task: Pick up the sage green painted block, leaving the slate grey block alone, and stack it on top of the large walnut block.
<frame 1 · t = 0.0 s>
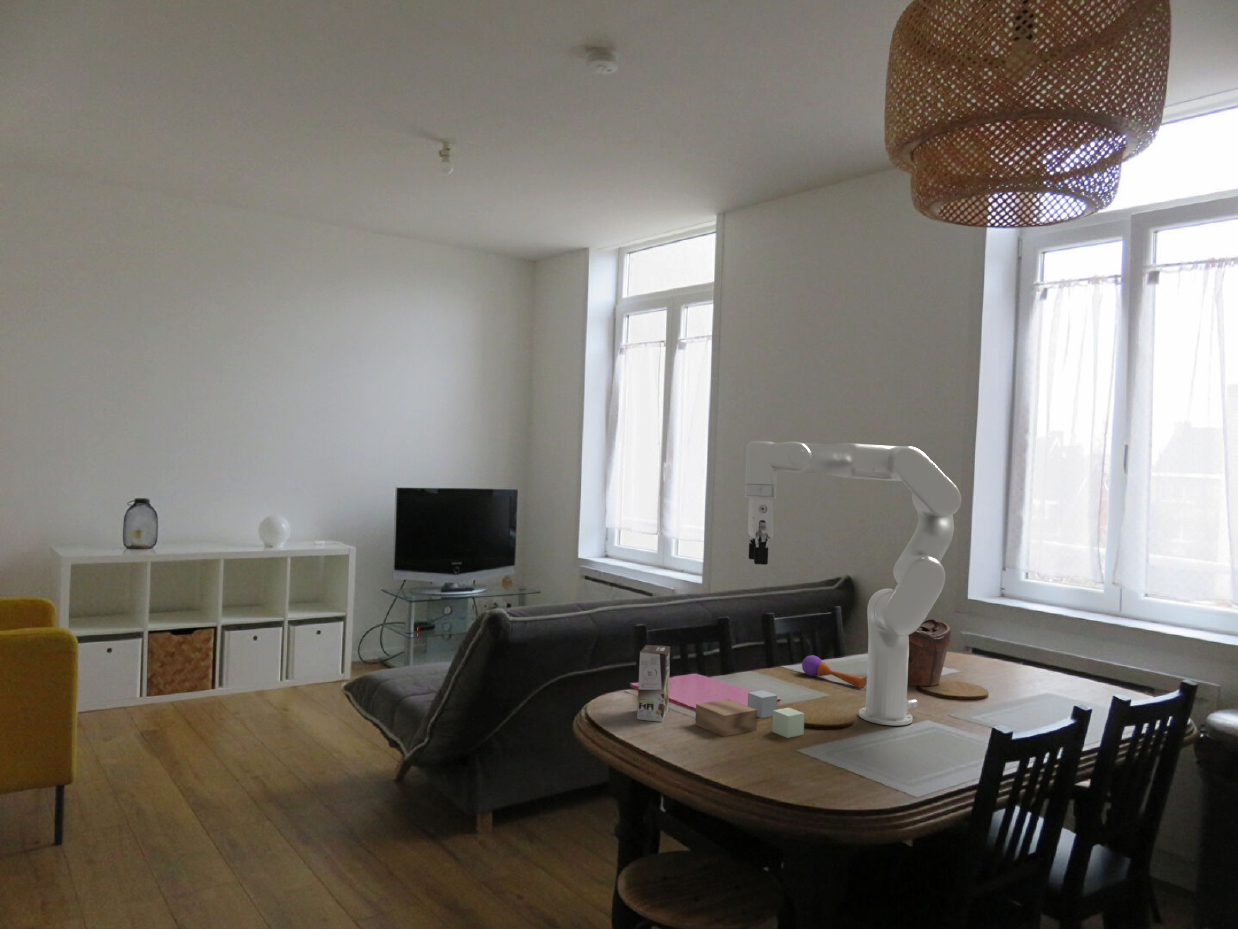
hand: (757, 561, 217), 37 cm above the table, tool pointing down, fingers open, 9 cm apart
purple and orange maraca: (832, 682, 253), on the table
sage block: (787, 733, 203), on the table
walnut base block: (725, 728, 206), on the table
slate block: (761, 714, 218), on the table
coffee box: (652, 716, 213), on the table
brown plant pot: (916, 681, 256), on the table
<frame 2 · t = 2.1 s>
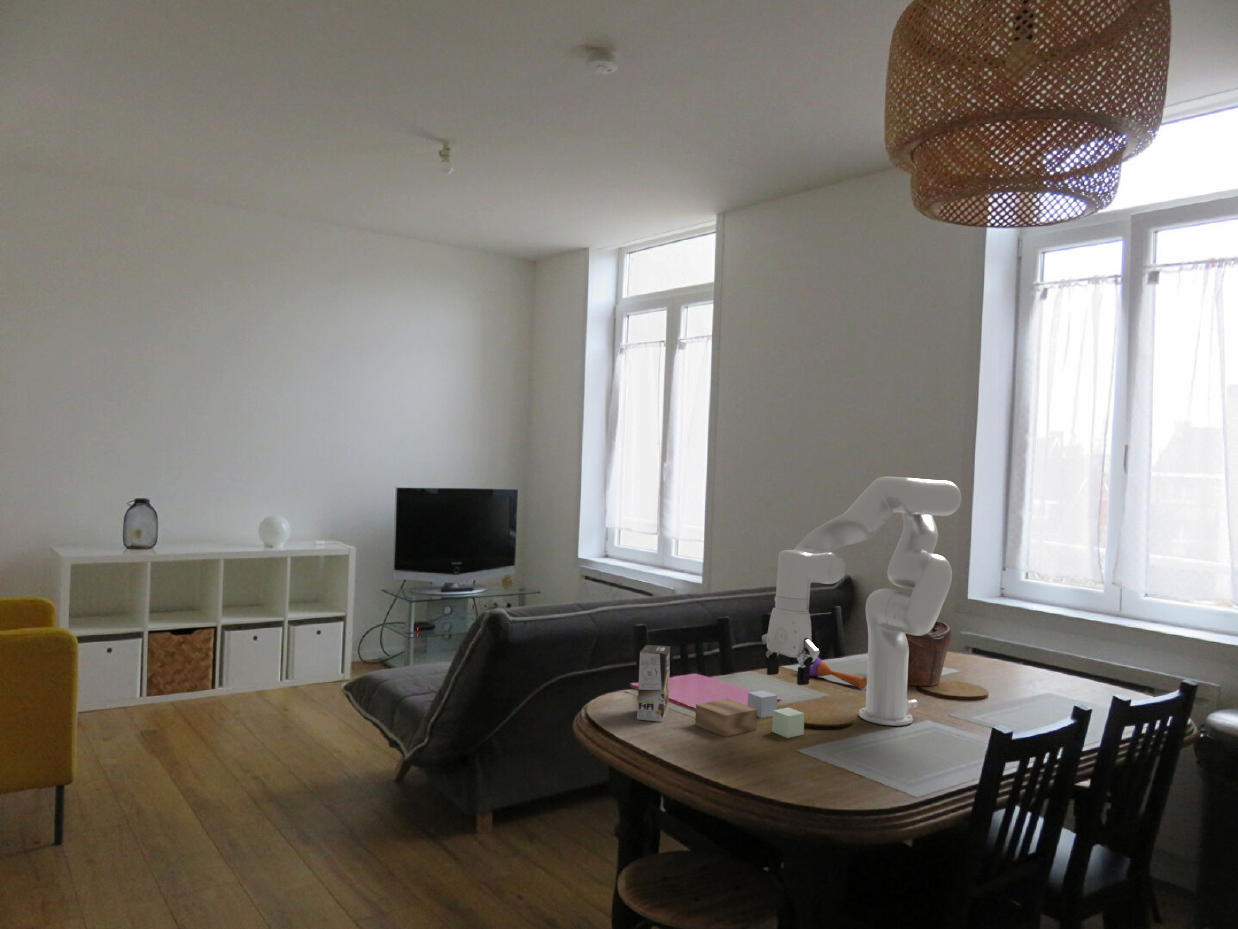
hand: (787, 679, 203), 12 cm above the table, tool pointing down, fingers open, 9 cm apart
nothing on the table moved.
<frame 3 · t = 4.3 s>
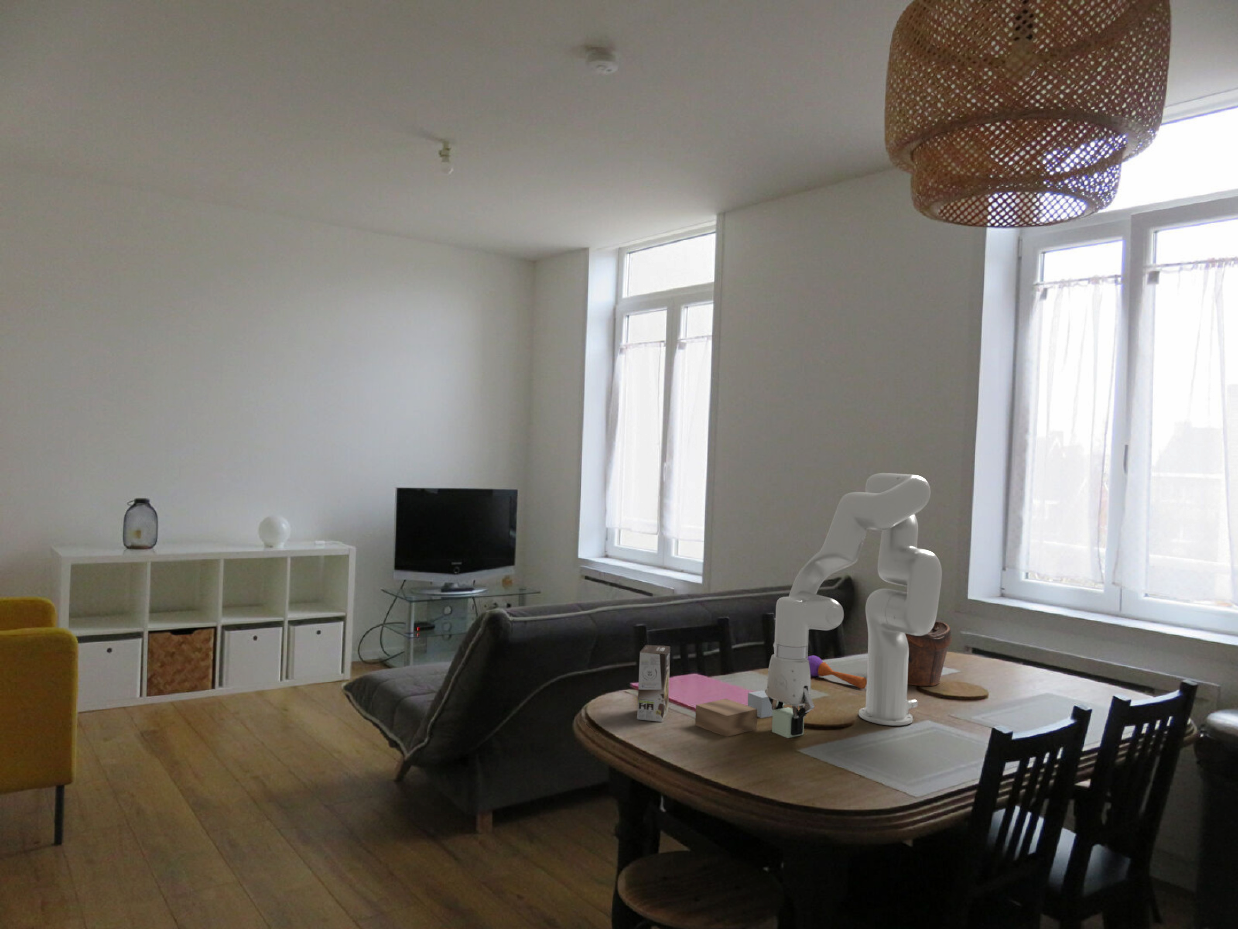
hand: (787, 730, 203), 1 cm above the table, tool pointing down, fingers closed on sage block, 5 cm apart
sage block: (787, 733, 203), on the table, touching gripper
everything else where it was.
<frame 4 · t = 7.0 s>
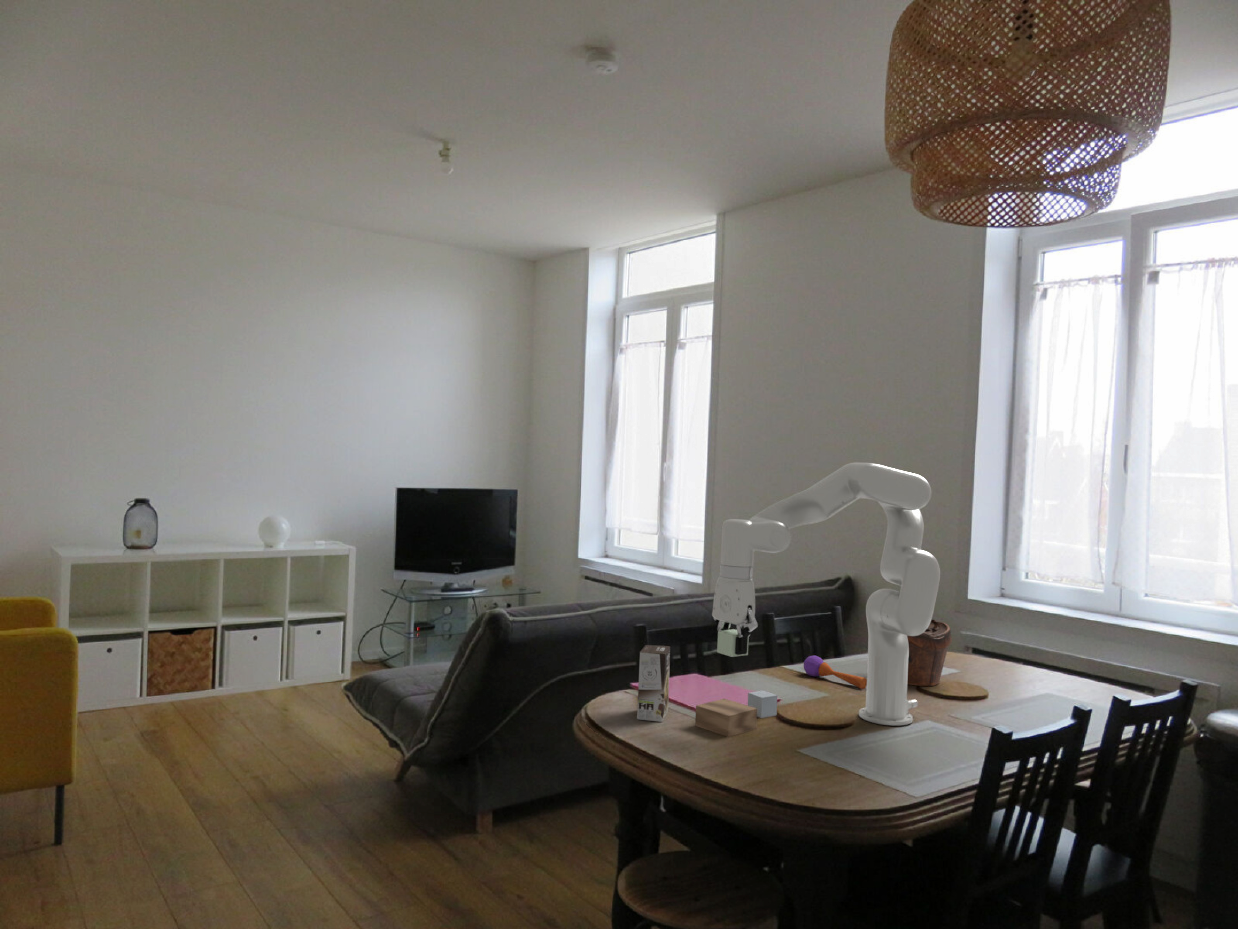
hand: (732, 650, 205), 18 cm above the table, tool pointing down, fingers closed on sage block, 4 cm apart
sage block: (732, 653, 205), point 17 cm above the table, touching gripper
everything else where it was.
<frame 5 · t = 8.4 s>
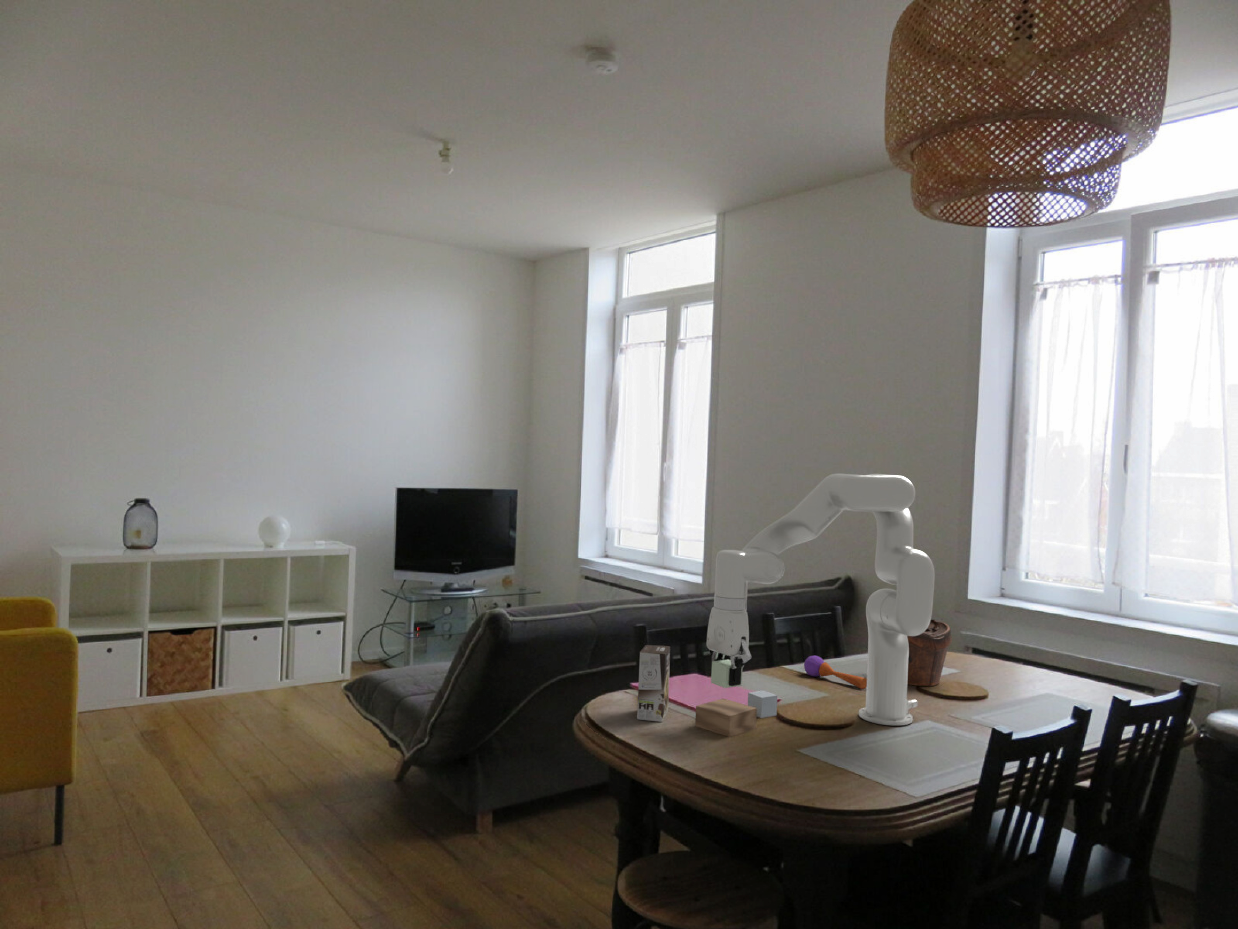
hand: (726, 681, 206), 11 cm above the table, tool pointing down, fingers closed on sage block, 4 cm apart
sage block: (726, 684, 206), point 10 cm above the table, touching gripper
everything else where it was.
when the fingers open (7 cm above the table, at t = 9.8 s): sage block drops 2 cm, resting on walnut base block.
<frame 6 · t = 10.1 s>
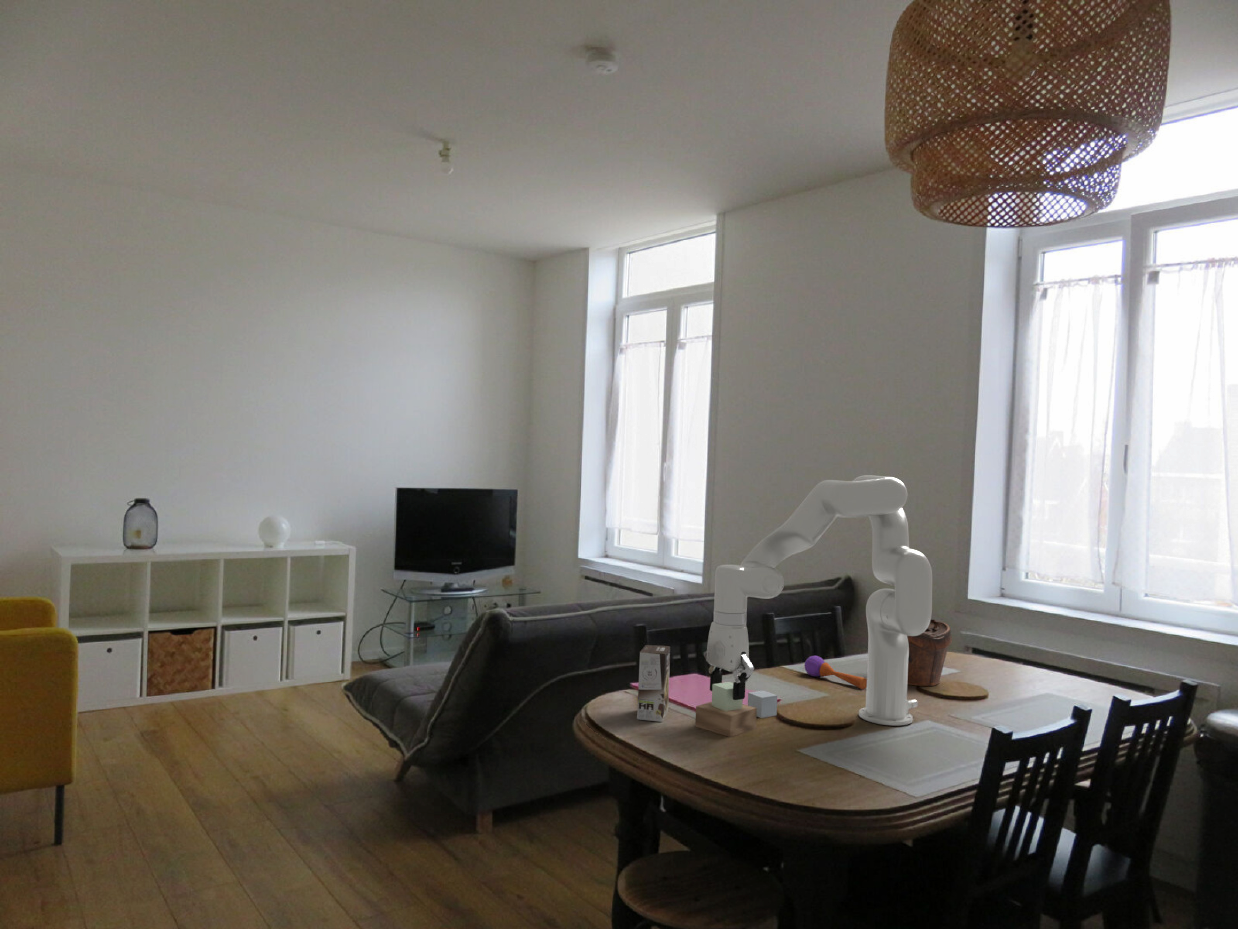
hand: (727, 694, 206), 8 cm above the table, tool pointing down, fingers open, 7 cm apart
sage block: (726, 707, 206), point 5 cm above the table, touching walnut base block
walnut base block: (725, 728, 206), on the table, touching sage block
everything else where it was.
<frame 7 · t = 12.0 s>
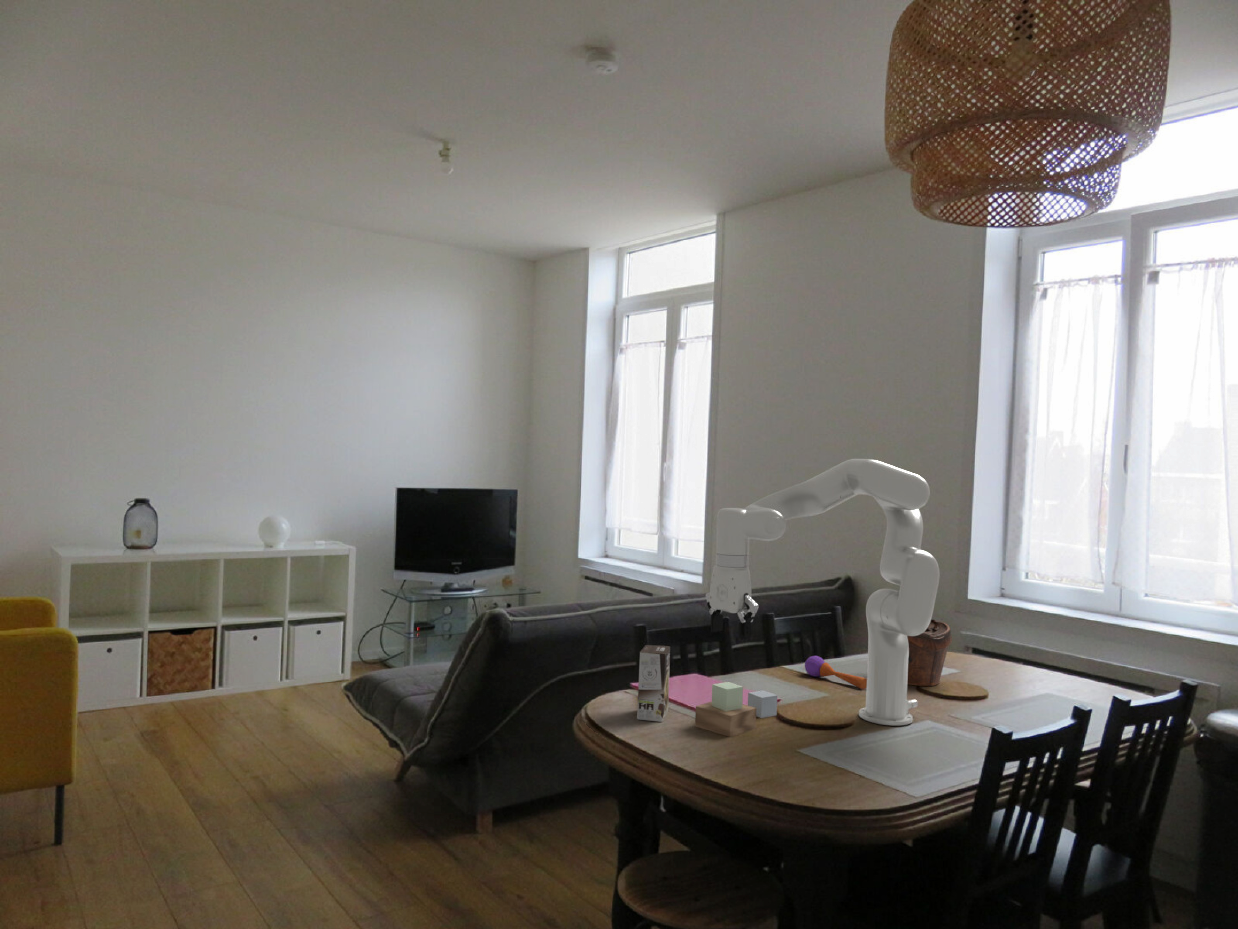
hand: (730, 635, 206), 21 cm above the table, tool pointing down, fingers open, 9 cm apart
nothing on the table moved.
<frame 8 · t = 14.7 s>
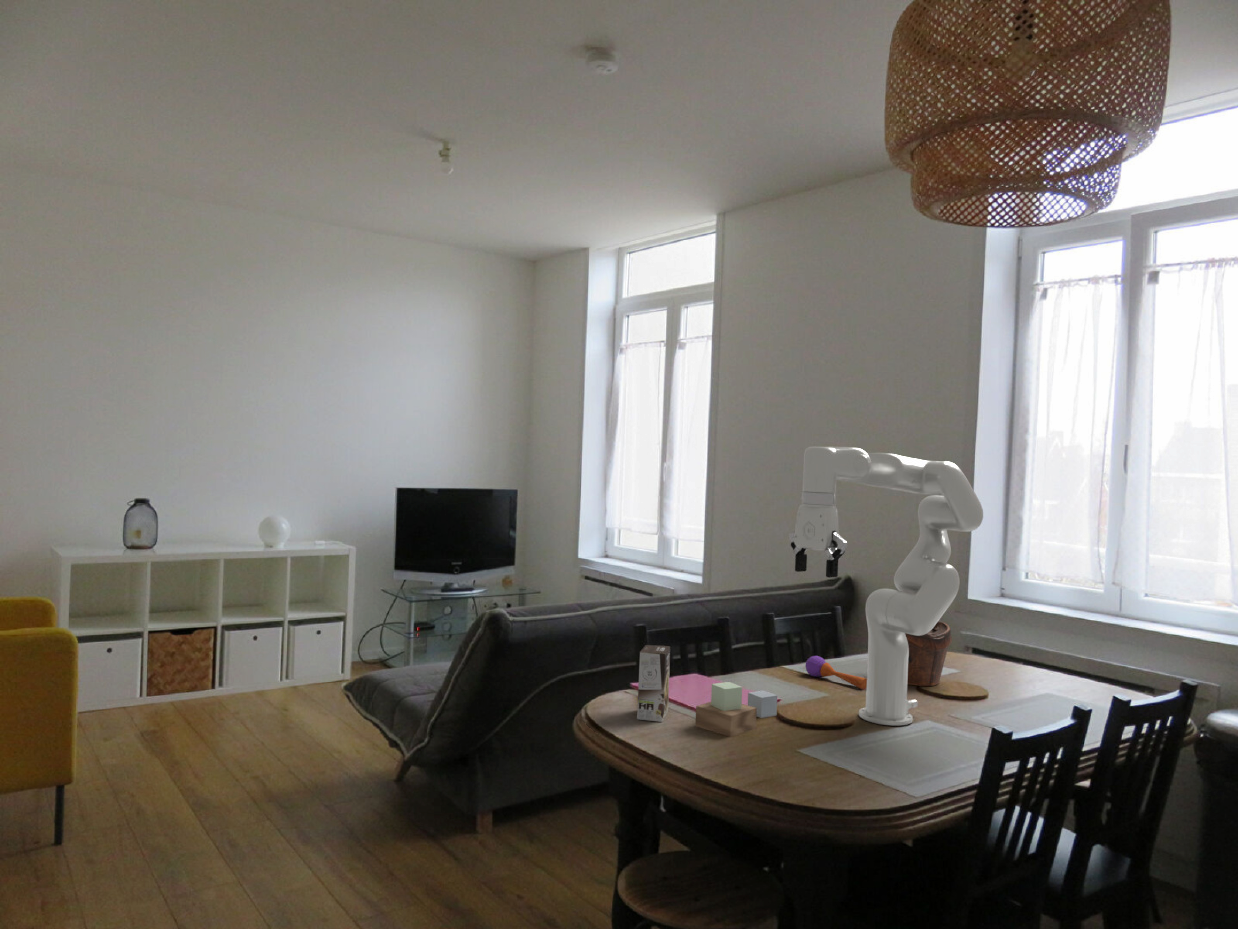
hand: (815, 574, 205), 36 cm above the table, tool pointing down, fingers open, 9 cm apart
nothing on the table moved.
at the end: sage block inside the target area on the walnut base block (0.1 cm from its centre), point 5.0 cm above the walnut base block's base; sage block tilted 0°; the gripper is holding nothing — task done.
